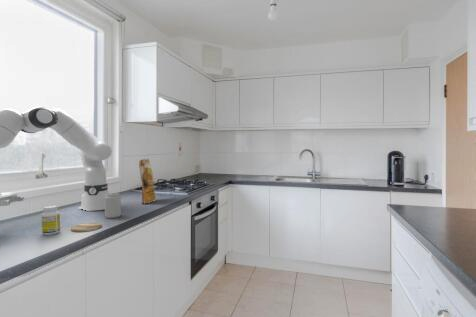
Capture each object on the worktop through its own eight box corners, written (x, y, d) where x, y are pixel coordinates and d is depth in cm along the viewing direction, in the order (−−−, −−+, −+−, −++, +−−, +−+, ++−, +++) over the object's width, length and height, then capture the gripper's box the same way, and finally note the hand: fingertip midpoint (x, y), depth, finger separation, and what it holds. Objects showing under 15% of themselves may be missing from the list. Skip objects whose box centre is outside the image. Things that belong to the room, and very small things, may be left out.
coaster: (77, 225, 127) (77, 223, 126) (105, 223, 129) (105, 221, 129) (66, 232, 115) (66, 231, 115) (97, 231, 117) (97, 229, 117)
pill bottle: (52, 230, 119) (51, 204, 118) (63, 231, 117) (63, 205, 116) (38, 234, 113) (37, 207, 112) (50, 236, 111) (49, 208, 110)
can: (118, 218, 138) (118, 194, 138) (102, 219, 137) (102, 195, 137) (122, 214, 146) (122, 192, 145) (107, 215, 144) (106, 192, 144)
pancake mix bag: (136, 205, 171) (135, 159, 170) (149, 199, 190) (148, 158, 189) (146, 205, 170) (145, 159, 169) (158, 199, 189) (158, 158, 188)
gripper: (-45, 198, 99) (-2, 197, 101) (-6, 190, 119) (30, 189, 122) (-45, 215, 99) (-1, 214, 102) (-5, 204, 119) (30, 203, 122)
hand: (16, 200), depth 112 cm, fingers open, 8 cm apart
